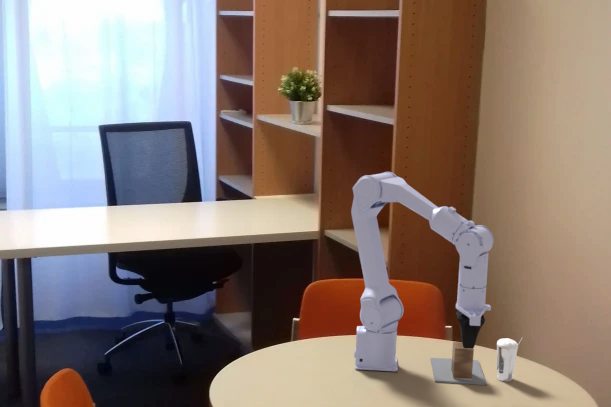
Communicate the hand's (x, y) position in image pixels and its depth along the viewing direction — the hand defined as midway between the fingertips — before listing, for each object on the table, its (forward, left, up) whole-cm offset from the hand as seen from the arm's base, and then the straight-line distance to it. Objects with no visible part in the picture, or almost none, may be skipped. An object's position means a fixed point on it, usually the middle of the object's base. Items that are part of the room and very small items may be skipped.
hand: (468, 347), depth 154 cm
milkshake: (+10, +8, -10) cm, 16 cm away
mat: (-1, +10, -10) cm, 14 cm away
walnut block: (0, +7, -9) cm, 12 cm away
